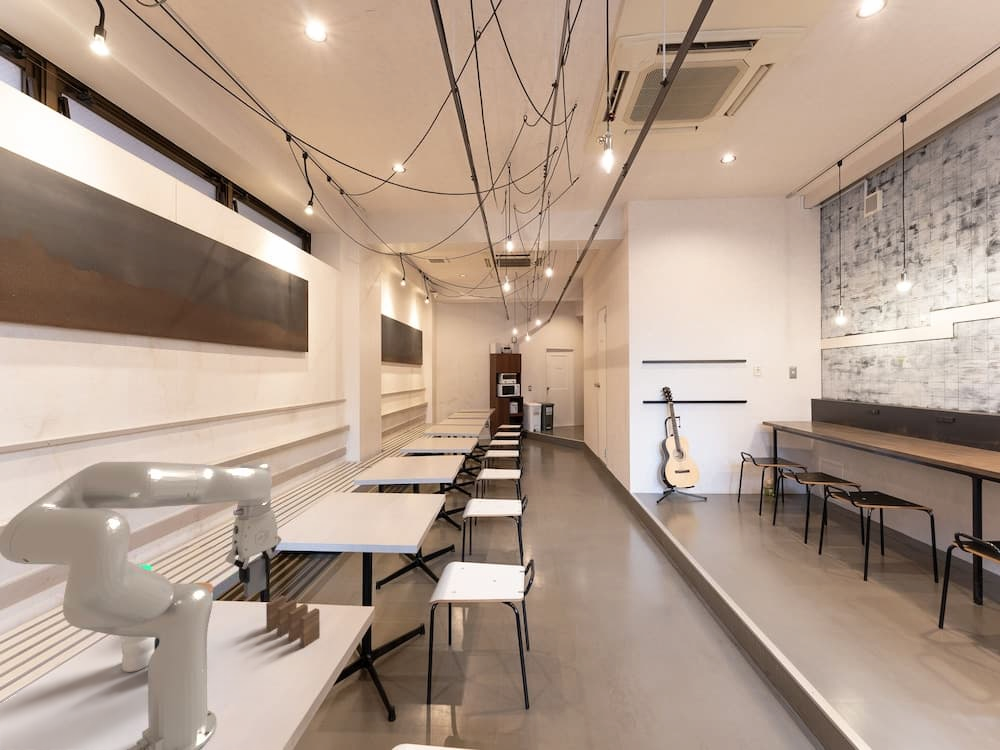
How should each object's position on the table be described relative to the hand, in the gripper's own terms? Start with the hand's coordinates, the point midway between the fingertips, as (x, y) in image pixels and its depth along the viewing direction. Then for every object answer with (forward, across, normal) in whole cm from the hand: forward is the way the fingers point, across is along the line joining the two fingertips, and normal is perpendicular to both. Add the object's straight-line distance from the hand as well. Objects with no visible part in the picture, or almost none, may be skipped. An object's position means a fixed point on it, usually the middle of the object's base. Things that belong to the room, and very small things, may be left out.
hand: (255, 576), depth 108 cm
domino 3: (+22, +11, +2) cm, 24 cm away
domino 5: (+22, +10, -8) cm, 25 cm away
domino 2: (+22, +11, +7) cm, 25 cm away
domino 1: (+4, 0, 0) cm, 4 cm away
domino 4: (+22, +10, -3) cm, 24 cm away
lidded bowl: (+22, +1, +33) cm, 40 cm away
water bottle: (+22, -15, +25) cm, 36 cm away
